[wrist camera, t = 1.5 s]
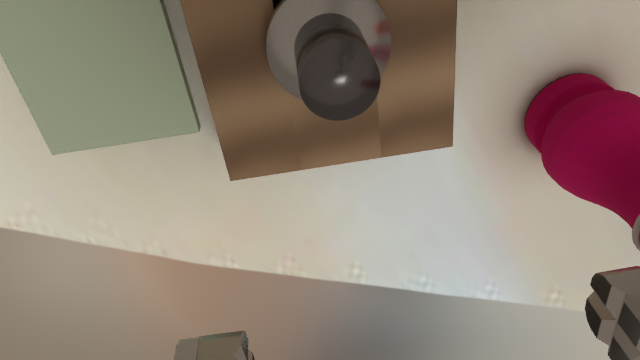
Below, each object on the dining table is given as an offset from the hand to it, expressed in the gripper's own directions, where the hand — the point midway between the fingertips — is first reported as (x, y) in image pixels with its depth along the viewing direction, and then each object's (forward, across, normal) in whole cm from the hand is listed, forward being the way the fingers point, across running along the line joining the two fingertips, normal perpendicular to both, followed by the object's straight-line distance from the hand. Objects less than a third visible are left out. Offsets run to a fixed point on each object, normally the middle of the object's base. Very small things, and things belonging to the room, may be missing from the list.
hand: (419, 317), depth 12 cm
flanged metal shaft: (+24, 0, 0) cm, 24 cm away
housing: (+24, 0, 0) cm, 24 cm away
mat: (+24, +14, 0) cm, 28 cm away
